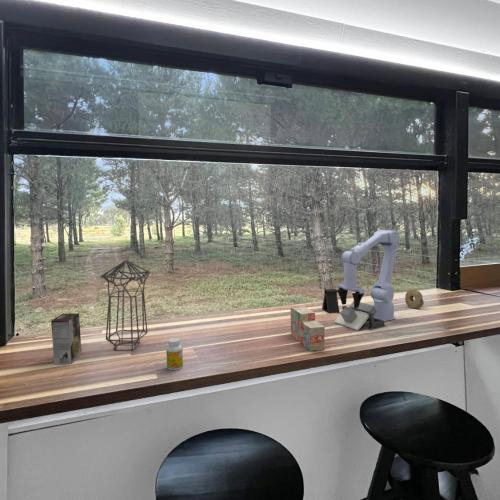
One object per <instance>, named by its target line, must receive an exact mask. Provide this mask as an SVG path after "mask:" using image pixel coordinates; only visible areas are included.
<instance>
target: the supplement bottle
mask: <svg viewBox="0 0 500 500" xmlns="http://www.w3.org/2000/svg"><path fill="white" fill-rule="evenodd" d="M167 344H168V345H167V346H166V351H165V352H166V368H167V369H168V370H170V371H177V370H181V369H182V368H183V366H184V361H183V360H184V359H183V358H184V357H183V353H184V352H183V345H182V344H181V338H179V337H171V338H169V339H168V340H167Z"/></svg>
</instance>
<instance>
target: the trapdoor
mask: <svg viewBox="0 0 500 500" xmlns="http://www.w3.org/2000/svg"><path fill="white" fill-rule="evenodd" d="M348 307H349V308H353V309H354V310H356V311H360V312H364V313H367V314H371V313H373V314H374V315H375V314H376V313H377V311H376V309H375V307H374V304H373V305H372V304H368V303H365V302H364V303H363V302H361V301H360V304H359V308H354V300H353V301H352V303H350V305H349V306H348ZM356 311H355V313H356V315H357V317H356V319H355V320H354V321H353V322H352V323H350V322H347V321H344V319H343V317H342V316H341V314H339V315H338V317H337V318H336V319H335V320H334V321H333V322H334V323H335V324H337V325H340V326H343V327H346V328H349V329H350V330H351V329H352V330H353V331H359V330H360V329H361V327H362V326H363V325H364V324H365V323H366V322H367V321H366V320H367V319H368V318H369V315H366V314H363V313H359V312H356Z"/></svg>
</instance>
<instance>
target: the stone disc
mask: <svg viewBox="0 0 500 500" xmlns="http://www.w3.org/2000/svg"><path fill="white" fill-rule="evenodd" d="M404 298H405V299H404V301H405V304H406V305H407V306H408V307H409V308H411V309H420V308H421V307H423V305H424V303H425V302H424V299H423V294H422V293H421V292H420V290H417V289H409V290H408V291H407V292H406V294H405V297H404Z"/></svg>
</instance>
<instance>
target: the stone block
mask: <svg viewBox="0 0 500 500" xmlns="http://www.w3.org/2000/svg"><path fill="white" fill-rule="evenodd" d="M339 313H340V314H341V316H342V317H343V319H344V321H347V322H350V323H352V322H353V321H354V320H355V319H356V317H357V315H356V313H355V311H354V309H353V308H350V307H349V306H347V307H345V308H344V309H343V310H341V312H339ZM340 314H339V315H340Z"/></svg>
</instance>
